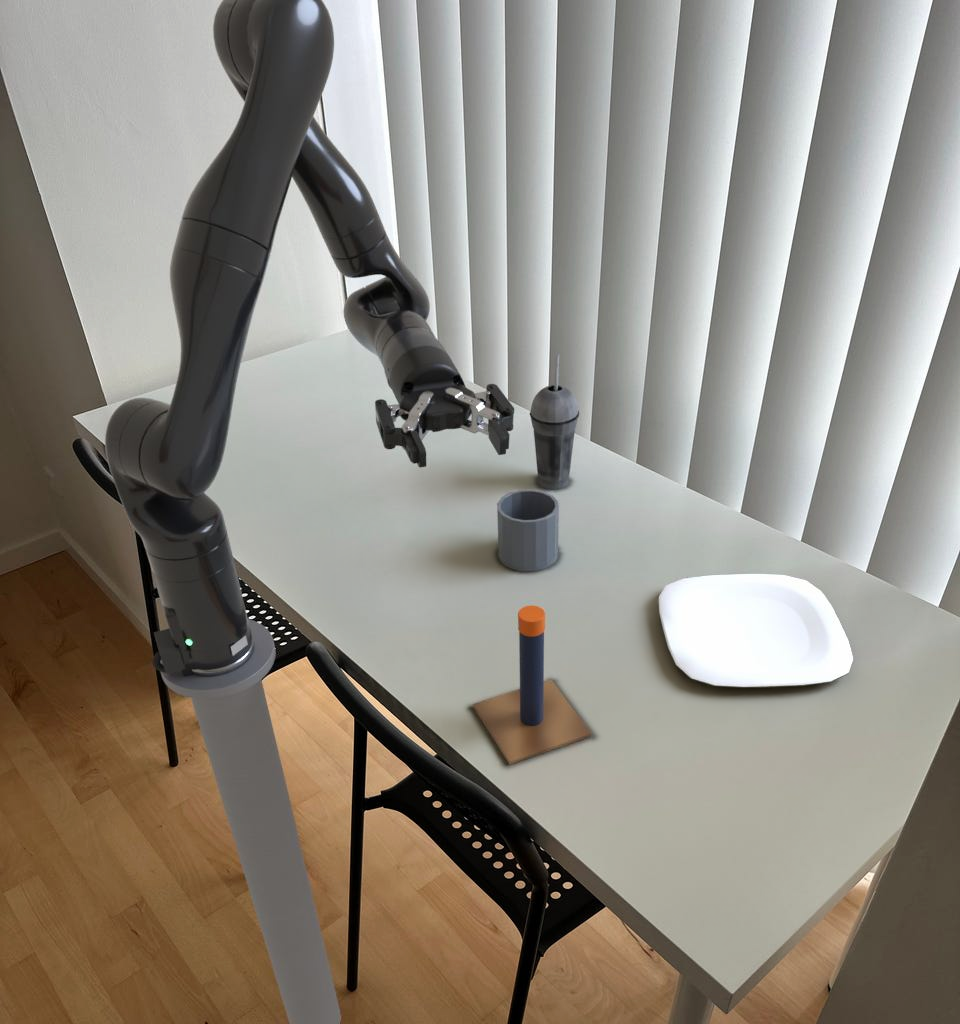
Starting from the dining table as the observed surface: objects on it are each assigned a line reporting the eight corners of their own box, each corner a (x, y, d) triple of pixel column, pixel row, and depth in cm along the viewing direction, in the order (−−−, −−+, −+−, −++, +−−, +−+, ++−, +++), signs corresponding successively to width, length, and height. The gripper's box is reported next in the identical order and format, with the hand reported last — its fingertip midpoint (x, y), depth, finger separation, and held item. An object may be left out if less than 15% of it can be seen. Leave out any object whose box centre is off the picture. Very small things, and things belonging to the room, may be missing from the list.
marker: (526, 729, 109) (525, 624, 100) (515, 714, 111) (513, 609, 101) (548, 721, 110) (549, 617, 100) (537, 706, 112) (537, 602, 102)
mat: (509, 764, 106) (509, 761, 105) (472, 707, 113) (472, 704, 113) (591, 736, 109) (591, 733, 108) (550, 682, 116) (550, 678, 115)
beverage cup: (523, 490, 149) (523, 366, 137) (537, 467, 155) (537, 345, 142) (570, 497, 147) (573, 371, 135) (582, 473, 153) (586, 350, 140)
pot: (513, 577, 132) (512, 527, 127) (489, 546, 138) (487, 498, 133) (567, 562, 134) (569, 512, 129) (541, 532, 140) (541, 484, 135)
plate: (866, 692, 113) (869, 681, 111) (677, 698, 113) (678, 687, 112) (813, 580, 129) (816, 570, 128) (649, 586, 130) (650, 576, 128)
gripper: (357, 352, 106) (394, 432, 95) (482, 336, 110) (531, 411, 99) (361, 412, 112) (397, 494, 101) (480, 395, 115) (527, 473, 104)
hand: (463, 453), depth 100 cm, fingers open, 8 cm apart
